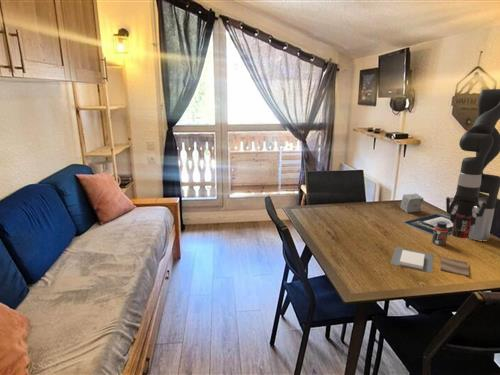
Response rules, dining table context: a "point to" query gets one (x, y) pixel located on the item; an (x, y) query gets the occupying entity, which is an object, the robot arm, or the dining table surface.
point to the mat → (426, 267)
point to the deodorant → (462, 219)
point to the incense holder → (411, 203)
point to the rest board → (454, 266)
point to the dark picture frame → (430, 223)
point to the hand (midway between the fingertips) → (461, 223)
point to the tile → (412, 259)
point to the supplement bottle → (440, 234)
